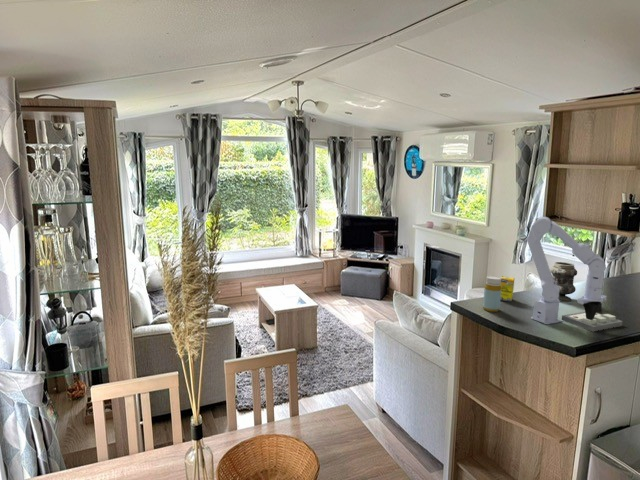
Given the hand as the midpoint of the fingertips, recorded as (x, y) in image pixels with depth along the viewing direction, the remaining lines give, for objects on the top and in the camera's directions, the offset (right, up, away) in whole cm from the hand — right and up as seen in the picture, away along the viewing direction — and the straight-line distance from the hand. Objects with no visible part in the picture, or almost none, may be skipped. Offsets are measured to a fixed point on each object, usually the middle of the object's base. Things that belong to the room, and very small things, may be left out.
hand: (589, 318), depth 180 cm
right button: (+11, -2, +5) cm, 12 cm away
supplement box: (-20, +3, +35) cm, 40 cm away
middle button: (+5, -2, +3) cm, 6 cm away
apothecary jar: (+9, +3, +39) cm, 40 cm away
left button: (0, -2, 0) cm, 2 cm away
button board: (+4, -3, +6) cm, 8 cm away
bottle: (-33, 0, +20) cm, 38 cm away
